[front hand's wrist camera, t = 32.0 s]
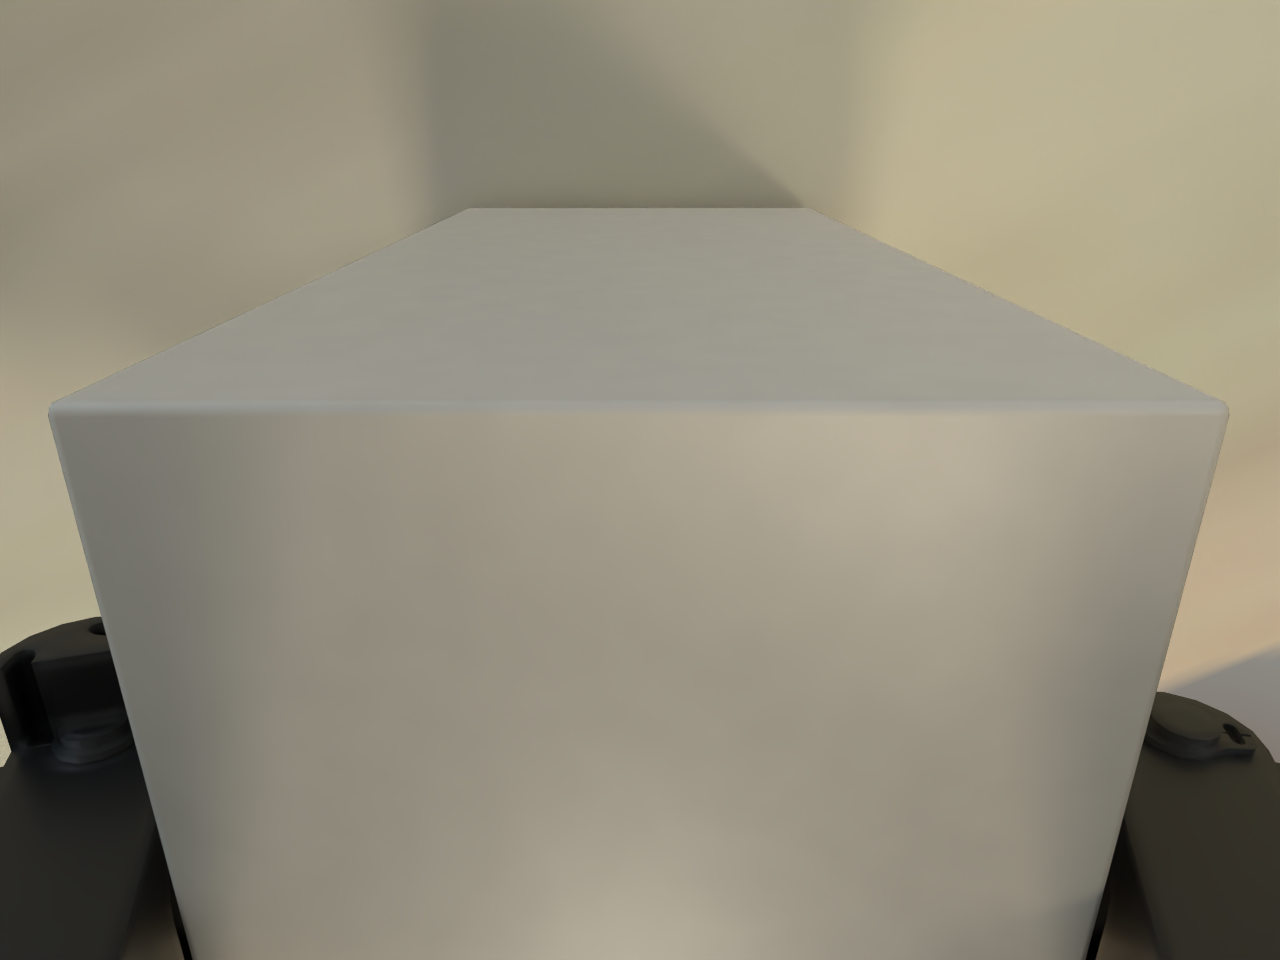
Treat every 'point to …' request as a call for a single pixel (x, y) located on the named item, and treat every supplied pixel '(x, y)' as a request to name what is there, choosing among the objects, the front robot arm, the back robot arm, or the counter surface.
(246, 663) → the block
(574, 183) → the counter surface
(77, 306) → the counter surface
